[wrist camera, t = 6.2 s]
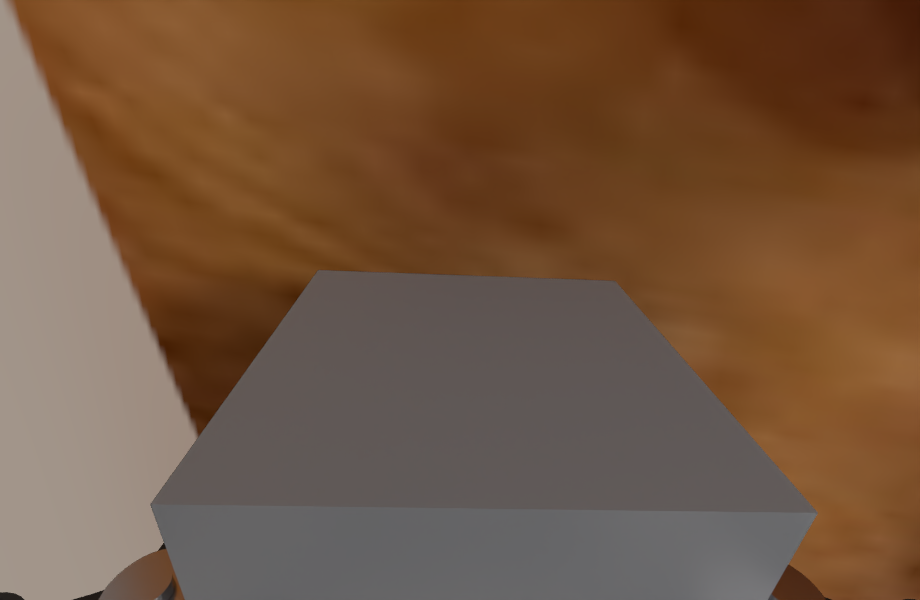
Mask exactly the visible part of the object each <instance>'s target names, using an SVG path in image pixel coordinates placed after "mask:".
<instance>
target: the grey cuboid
mask: <svg viewBox="0 0 920 600" xmlns="http://www.w3.org/2000/svg"><path fill="white" fill-rule="evenodd" d="M151 508H152V510H153V513H154V516H155V519H156V522H157V524H158V527H159V530H160V533H161V535H162V538H163V541H164V544H165V546H166V549H167V552H168V555H169V557H170V560H171V563H172V566H173V569H174V571H175V574H176V577H177V580H178V582H179V585H180V588H181V591H182V593H183V596H184V599H185V600H768V598H769V597H770V595H771V593H772V591H773V590H774V588H775V586H776V585H777V583H778V581H779V579H780V578H781V576H782V574H783V572H784V571H785V569H786V567H787V565H788V564H789V562H790V560H791V559H792V557H793V555H794V553H795V552H796V550H797V548H798V546H799V545H800V543H801V541H802V539H803V538H804V536H805V534H806V533H807V531H808V529H809V527H810V526H811V524H812V522H813V520H814V519H815V517H816V515H817V511H816V510H815V509H814V508H813V507H812V506H811V505H810V503H809V502H808V501H807V500H806V499H805V498H804V497H803V495H802V494H801V493H800V492H799V491H798V490H797V489H796V487H795V486H794V485H793V484H792V483H791V482H790V481H789V479H788V478H787V477H786V476H785V475H784V474H783V473H782V471H781V470H780V469H779V468H778V467H777V466H776V465H775V463H774V462H773V461H772V460H771V459H770V458H769V457H768V455H767V454H766V453H765V452H764V451H763V450H762V449H761V447H760V446H759V445H758V444H757V443H756V442H755V441H754V439H753V438H752V437H751V436H750V435H749V434H748V433H747V431H746V430H745V429H744V428H743V427H742V426H741V425H740V423H739V422H738V421H737V420H736V419H735V418H734V416H733V415H732V414H731V413H730V412H729V411H728V410H727V408H726V407H725V406H724V405H723V404H722V403H721V402H720V400H719V399H718V398H717V397H716V396H715V395H714V394H713V392H712V391H711V390H710V389H709V388H708V387H707V386H706V384H705V383H704V382H703V381H702V380H701V379H700V378H699V376H698V375H697V374H696V373H695V372H694V371H693V370H692V368H691V367H690V366H689V365H688V364H687V363H686V362H685V360H684V359H683V358H682V357H681V356H680V355H679V354H678V352H677V351H676V350H675V349H674V348H673V347H672V346H671V344H670V343H669V342H668V341H667V340H666V339H665V338H664V336H663V335H662V334H661V333H660V332H659V331H658V330H657V328H656V327H655V326H654V325H653V324H652V323H651V322H650V320H649V319H648V318H647V317H646V316H645V315H644V314H643V312H642V311H641V310H640V309H639V308H638V307H637V306H636V304H635V303H634V302H633V301H632V300H631V299H630V298H629V296H628V295H627V294H626V293H625V292H624V291H623V290H622V288H621V287H620V286H619V285H618V284H617V283H616V282H615V281H605V280H577V279H550V278H522V277H495V276H467V275H440V274H412V273H385V272H357V271H330V270H318V271H317V272H316V274H315V275H314V277H313V278H312V279H311V281H310V282H309V284H308V285H307V286H306V288H305V289H304V291H303V292H302V293H301V295H300V296H299V298H298V299H297V300H296V302H295V303H294V305H293V306H292V307H291V309H290V310H289V312H288V313H287V314H286V316H285V317H284V319H283V320H282V321H281V323H280V324H279V325H278V327H277V328H276V330H275V331H274V332H273V334H272V335H271V337H270V338H269V339H268V341H267V342H266V344H265V345H264V346H263V348H262V349H261V351H260V352H259V353H258V355H257V356H256V358H255V359H254V360H253V362H252V363H251V365H250V366H249V367H248V369H247V370H246V372H245V373H244V374H243V376H242V377H241V379H240V380H239V381H238V383H237V384H236V385H235V387H234V388H233V390H232V391H231V392H230V394H229V395H228V397H227V398H226V399H225V401H224V402H223V404H222V405H221V406H220V408H219V409H218V411H217V412H216V413H215V415H214V416H213V418H212V419H211V420H210V422H209V423H208V425H207V426H206V427H205V429H204V430H203V432H202V433H201V434H200V436H199V437H198V439H197V440H196V441H195V443H194V444H193V445H192V447H191V448H190V450H189V451H188V453H187V454H186V455H185V457H184V458H183V460H182V461H181V462H180V464H179V465H178V466H177V468H176V469H175V471H174V472H173V473H172V475H171V476H170V478H169V479H168V480H167V482H166V483H165V485H164V486H163V487H162V489H161V490H160V492H159V493H158V494H157V496H156V497H155V499H154V500H153V502H152V503H151Z"/></svg>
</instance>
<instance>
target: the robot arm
mask: <svg viewBox="0 0 920 600" xmlns="http://www.w3.org/2000/svg"><path fill="white" fill-rule="evenodd" d="M0 600H24V599H23V598H22V597H21V596H19V595H17V594H14V593H8V592H5V593H0ZM74 600H185V599H184V596H183V593H182V591H181V588H180V585H179V582H178V580H177V577H176V574H175V571H174V569H173V566H172V563H171V560H170V557H169V555H168V552H167V549H166V546H165V544H164V543H163V545H162V546H161V547H160V549H159V550H158V551H157V552H153V553H151V554H148V555H147V556H144V557H142V558H141V559H139V560H137V561H135V562H134V563H132V564H131V565H130V566H128V567H127V568H125V569H124V570H123V571H122V572H121V573H119V574H118V575H117V576H116V577H115V578H114V579H113V581H111V582H110V584H109V585H108V586H107V587H106V589H105V590H103V591H100V592H97V593H94V594H91V595H87V596H84V597H81V598H77V599H74ZM768 600H831V599H828V598H825V597H824V596H823V595H822V593H821V592H820V591H819V590H818V589H817V587H816V586H815V585H814V584H813V583H812V582H811V581H810V580H809V579H808V578H806V577H805V576H804V575H803V574H802V573H800V572H799V571H798V570H796V569H795V568H793V567H792V566H790V565H787V567H786V569H785V571H784V572H783V574H782V576H781V578H780V579H779V581H778V583H777V585H776V586H775V588H774V590H773V591H772V593H771V595H770V597H769V598H768ZM904 600H915V599H904Z"/></svg>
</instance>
